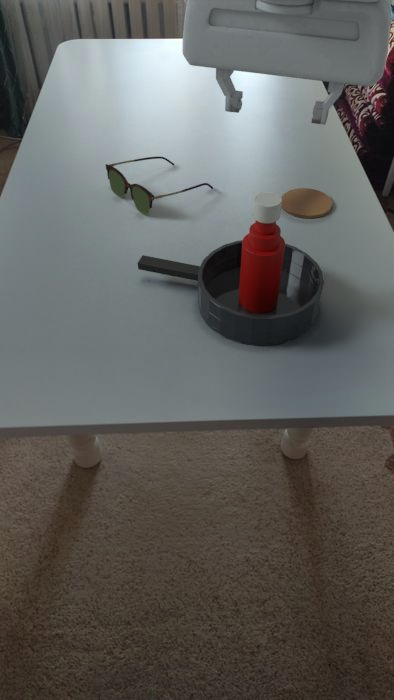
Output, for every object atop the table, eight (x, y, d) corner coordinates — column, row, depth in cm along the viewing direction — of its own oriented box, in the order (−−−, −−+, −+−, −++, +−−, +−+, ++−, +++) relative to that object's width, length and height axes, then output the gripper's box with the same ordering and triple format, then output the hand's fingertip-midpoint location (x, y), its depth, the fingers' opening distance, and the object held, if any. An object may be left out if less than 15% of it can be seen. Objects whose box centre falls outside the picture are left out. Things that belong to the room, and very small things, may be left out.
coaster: (335, 195, 99) (335, 192, 98) (327, 222, 93) (328, 219, 93) (285, 187, 101) (286, 184, 100) (275, 213, 95) (275, 210, 95)
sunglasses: (106, 188, 101) (104, 162, 98) (169, 168, 108) (170, 143, 105) (153, 221, 93) (153, 194, 90) (217, 197, 101) (220, 172, 97)
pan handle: (203, 273, 80) (203, 266, 79) (198, 281, 78) (198, 275, 78) (143, 261, 82) (142, 254, 81) (138, 269, 80) (137, 262, 80)
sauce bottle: (281, 291, 80) (295, 190, 68) (273, 316, 76) (286, 214, 64) (244, 284, 81) (251, 184, 69) (234, 308, 78) (239, 207, 66)
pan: (326, 277, 83) (332, 250, 79) (306, 357, 72) (312, 330, 68) (217, 257, 87) (218, 230, 83) (182, 330, 75) (181, 302, 72)
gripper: (170, -38, 49) (175, 115, 59) (405, -20, 45) (367, 142, 55) (192, -53, 53) (193, 92, 63) (409, -38, 49) (373, 116, 59)
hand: (275, 116), depth 59 cm, fingers open, 8 cm apart
